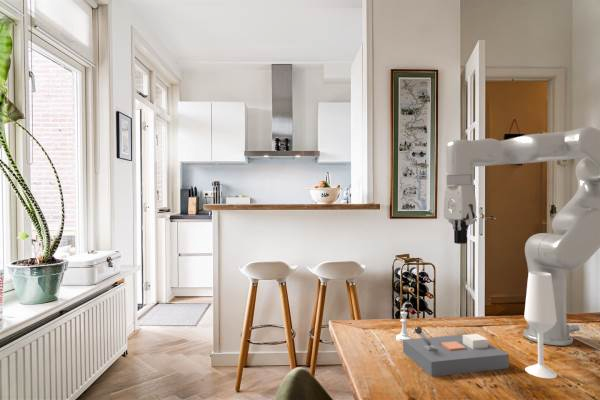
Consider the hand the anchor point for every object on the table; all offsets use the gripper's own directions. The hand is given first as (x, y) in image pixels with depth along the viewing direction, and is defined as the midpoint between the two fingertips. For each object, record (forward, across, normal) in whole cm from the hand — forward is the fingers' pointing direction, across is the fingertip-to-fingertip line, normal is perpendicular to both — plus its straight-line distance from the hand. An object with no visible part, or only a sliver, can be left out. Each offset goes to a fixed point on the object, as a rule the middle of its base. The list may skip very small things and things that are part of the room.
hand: (460, 243), depth 116 cm
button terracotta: (+28, +12, -11) cm, 32 cm away
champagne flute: (+29, +23, +6) cm, 38 cm away
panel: (+29, +12, -10) cm, 33 cm away
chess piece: (+29, -5, -16) cm, 34 cm away
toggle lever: (+25, +12, -17) cm, 32 cm away
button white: (+26, +12, -4) cm, 29 cm away
